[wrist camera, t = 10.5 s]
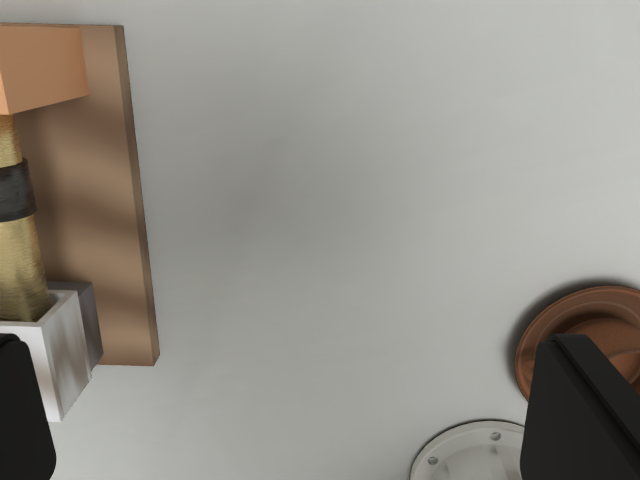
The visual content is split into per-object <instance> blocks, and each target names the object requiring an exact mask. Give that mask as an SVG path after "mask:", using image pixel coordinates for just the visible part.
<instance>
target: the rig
mask: <svg viewBox="0 0 640 480" xmlns="http://www.w3.org/2000/svg"><path fill="white" fill-rule="evenodd" d="M0 26H12V27H50V28H80V30H81V38H82V45H83V52H84V59H85V66H86V73H87V80H88V87H89V94H90V95H87V96H83V97H79V98H75V99H71V100H66V101H62V102H58V103H54V104H50V105H46V106H42V107H38V108H34V109H30V110H26V111H22V112H18V113H14V119H15V124H16V129H17V134H18V140H19V145H20V150H21V155H22V157H24V158H26V159H27V160H28V165H29V170H30V175H31V180H32V186H33V191H34V196H35V201H36V206H37V211H36V212H35V213H34V214H33V216H34V221H35V226H36V231H37V236H38V241H39V246H40V251H41V256H42V261H43V266H44V272H45V277H46V282H47V287H48V292H49V297H50V302H51V307H52V308H51V309H50V310H49V311H48V312H47V313H46V314H45V315H44V316H43V317H42V318H41V319H40V320H39V321H38V322H11V321H0V333H13V334H16V335H17V336H18V337H19V338H20V340H21V341H23V342H26V344H27V345H28V347H29V349H30V353H31V357H32V361H33V365H34V369H35V373H36V377H37V381H38V385H39V389H40V393H41V397H42V401H43V405H44V409H45V413H46V417H47V421H48V422H61V421H62V419H63V418H64V417H65V415H66V414H67V412H68V411H69V409H70V408H71V407H72V405H73V404H74V402H75V401H76V399H77V398H78V397H79V395H80V394H81V392H82V391H83V389H84V388H85V387H86V385H87V384H88V382H89V381H90V379H91V378H92V374H91V371H92V369H93V368H94V367H95V365H96V364H99V365H131V366H154V365H155V363H156V361H157V359H158V357H159V355H160V352H159V343H158V334H157V325H156V316H155V307H154V298H153V289H152V280H151V271H150V262H149V253H148V244H147V235H146V226H145V218H144V209H143V200H142V191H141V182H140V173H139V164H138V155H137V146H136V137H135V128H134V119H133V110H132V101H131V92H130V83H129V74H128V65H127V56H126V47H125V39H124V30H123V26H115V25H74V24H33V23H0Z"/></svg>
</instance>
